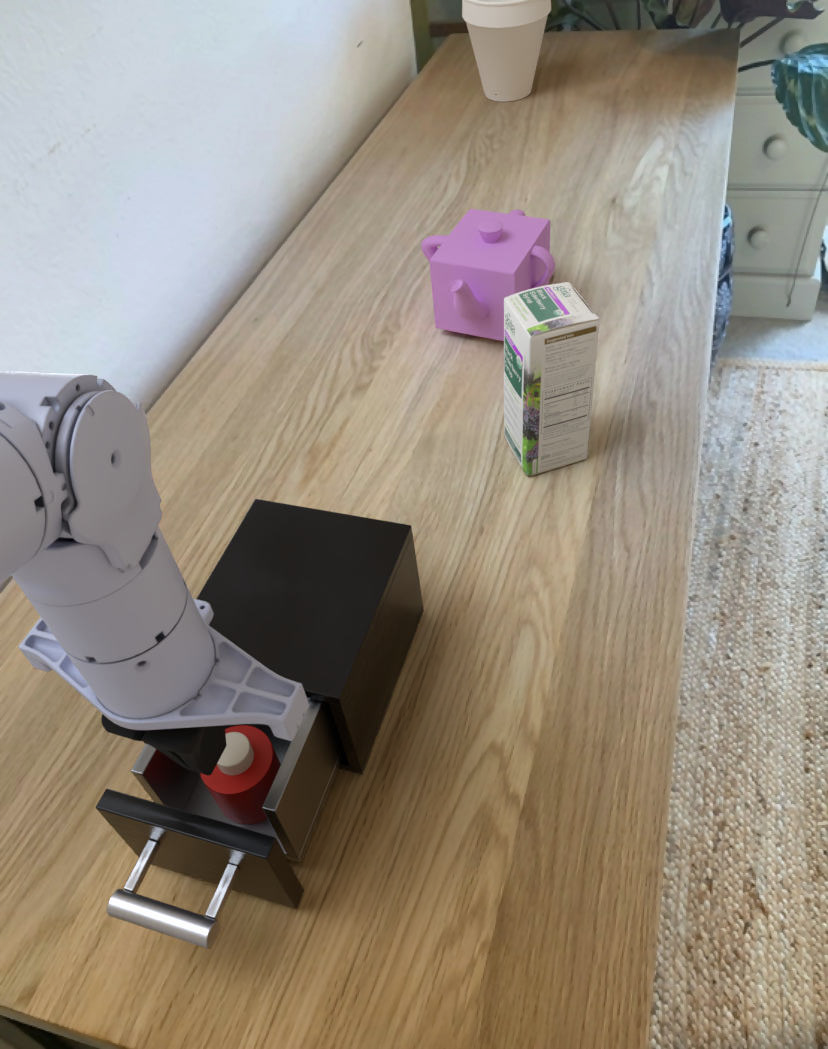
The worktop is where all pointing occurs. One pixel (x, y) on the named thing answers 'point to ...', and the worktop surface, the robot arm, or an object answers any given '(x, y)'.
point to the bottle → (244, 774)
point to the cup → (506, 43)
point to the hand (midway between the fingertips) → (208, 756)
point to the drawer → (222, 830)
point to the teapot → (486, 268)
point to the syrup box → (548, 376)
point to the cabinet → (322, 608)
